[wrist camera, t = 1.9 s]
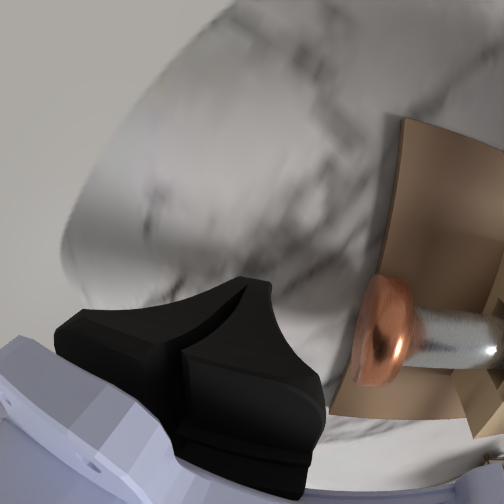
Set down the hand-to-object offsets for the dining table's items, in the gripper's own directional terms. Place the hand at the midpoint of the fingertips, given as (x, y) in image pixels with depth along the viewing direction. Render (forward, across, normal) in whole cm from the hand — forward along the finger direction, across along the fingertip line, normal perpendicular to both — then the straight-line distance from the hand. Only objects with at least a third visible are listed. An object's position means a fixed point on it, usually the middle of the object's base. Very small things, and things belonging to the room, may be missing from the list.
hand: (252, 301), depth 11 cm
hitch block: (+2, -12, 0) cm, 13 cm away
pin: (+1, -9, 0) cm, 10 cm away
